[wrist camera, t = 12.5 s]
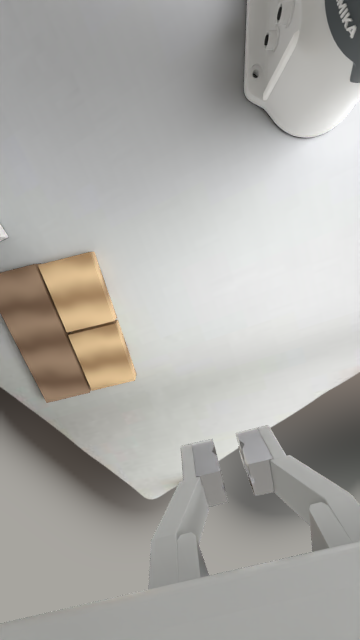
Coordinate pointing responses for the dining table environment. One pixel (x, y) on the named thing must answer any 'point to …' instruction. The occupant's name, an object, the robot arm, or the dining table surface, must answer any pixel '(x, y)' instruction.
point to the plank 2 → (103, 355)
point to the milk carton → (2, 233)
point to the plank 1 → (78, 291)
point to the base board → (40, 334)
